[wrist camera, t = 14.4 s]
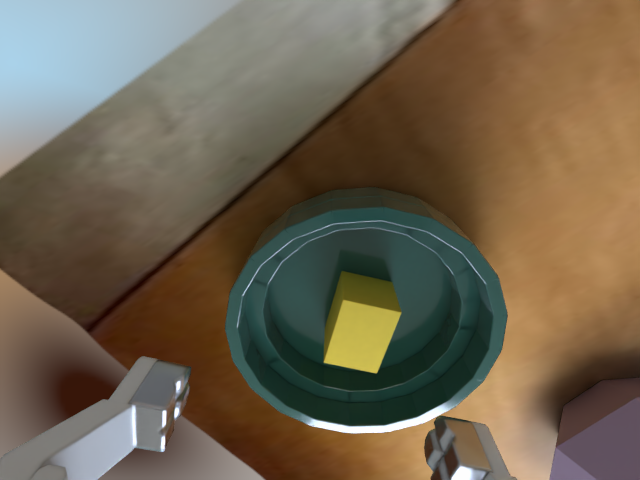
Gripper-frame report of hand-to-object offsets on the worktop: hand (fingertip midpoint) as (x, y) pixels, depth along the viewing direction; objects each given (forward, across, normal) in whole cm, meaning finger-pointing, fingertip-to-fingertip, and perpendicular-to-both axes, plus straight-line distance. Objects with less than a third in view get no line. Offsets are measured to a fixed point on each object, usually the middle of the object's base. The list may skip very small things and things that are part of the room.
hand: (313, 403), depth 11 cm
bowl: (+13, -4, +4) cm, 14 cm away
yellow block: (+12, -4, +4) cm, 13 cm away
